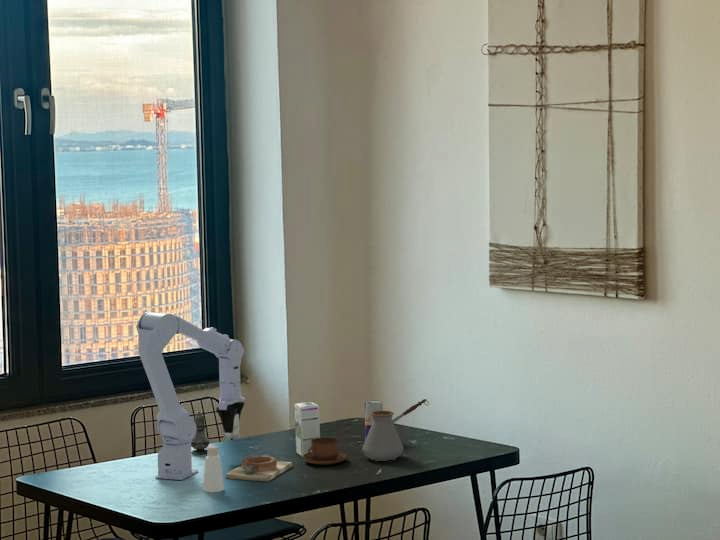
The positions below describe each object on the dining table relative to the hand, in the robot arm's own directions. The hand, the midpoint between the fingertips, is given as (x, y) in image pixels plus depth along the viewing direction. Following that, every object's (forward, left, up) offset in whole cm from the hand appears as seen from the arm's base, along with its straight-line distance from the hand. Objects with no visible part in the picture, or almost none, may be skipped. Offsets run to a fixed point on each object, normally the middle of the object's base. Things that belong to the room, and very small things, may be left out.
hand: (231, 430), depth 314 cm
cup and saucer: (+6, -25, -9) cm, 28 cm away
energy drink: (+33, -30, -9) cm, 46 cm away
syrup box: (+13, -17, -9) cm, 24 cm away
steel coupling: (0, 0, -2) cm, 2 cm away
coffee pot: (+18, -42, -9) cm, 47 cm away
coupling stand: (-9, -12, -9) cm, 18 cm away
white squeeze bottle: (-28, -8, -9) cm, 30 cm away
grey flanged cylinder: (+7, +14, -9) cm, 18 cm away
